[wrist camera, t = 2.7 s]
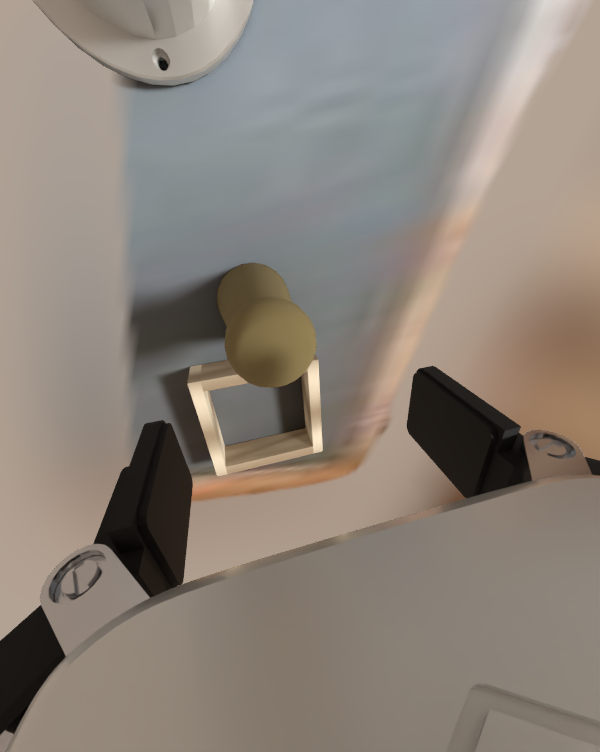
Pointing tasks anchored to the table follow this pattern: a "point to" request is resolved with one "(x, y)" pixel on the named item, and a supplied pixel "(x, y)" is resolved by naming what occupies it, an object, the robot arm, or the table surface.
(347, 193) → the table surface
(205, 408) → the beige square frame
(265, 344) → the cork
